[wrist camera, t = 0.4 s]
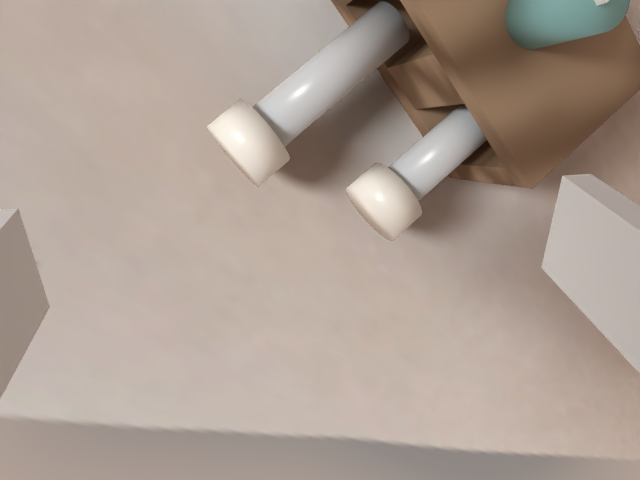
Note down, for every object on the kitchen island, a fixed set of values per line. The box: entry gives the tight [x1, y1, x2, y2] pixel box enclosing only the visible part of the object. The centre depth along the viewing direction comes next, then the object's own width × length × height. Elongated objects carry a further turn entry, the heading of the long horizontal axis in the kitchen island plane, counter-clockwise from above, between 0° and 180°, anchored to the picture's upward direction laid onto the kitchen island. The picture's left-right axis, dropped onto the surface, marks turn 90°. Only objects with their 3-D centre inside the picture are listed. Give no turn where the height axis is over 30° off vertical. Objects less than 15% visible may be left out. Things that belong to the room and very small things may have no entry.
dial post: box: [505, 0, 630, 50], centre depth 28 cm, size 4×4×6 cm
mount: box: [331, 0, 640, 188], centre depth 35 cm, size 16×11×10 cm, turn 39°
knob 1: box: [207, 1, 409, 187], centre depth 32 cm, size 13×5×5 cm, turn 129°
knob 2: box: [346, 104, 487, 241], centre depth 35 cm, size 13×5×5 cm, turn 129°
